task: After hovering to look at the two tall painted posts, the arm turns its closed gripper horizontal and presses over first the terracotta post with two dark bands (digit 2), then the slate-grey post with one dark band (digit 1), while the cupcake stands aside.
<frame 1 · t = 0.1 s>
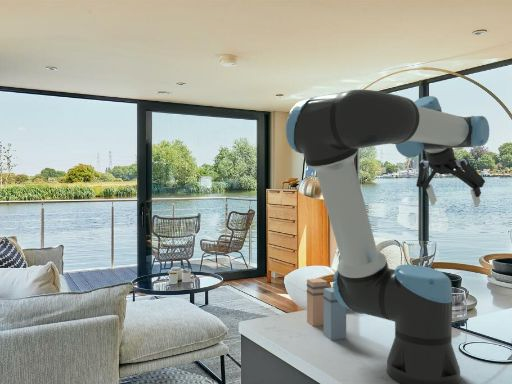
hand: (455, 203, 137), 36 cm above the table, tool tilted 35°, fingers open, 13 cm apart
post 2: (316, 323, 132), on the table
cupcake: (339, 307, 149), on the table
post 1: (334, 336, 120), on the table
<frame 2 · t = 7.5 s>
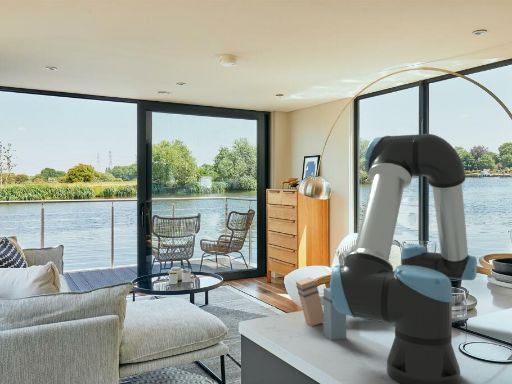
hand: (318, 300, 133), 7 cm above the table, tool horizontal, fingers closed
post 2: (315, 321, 132), on the table, tilted 15°, touching gripper
everything else where it was.
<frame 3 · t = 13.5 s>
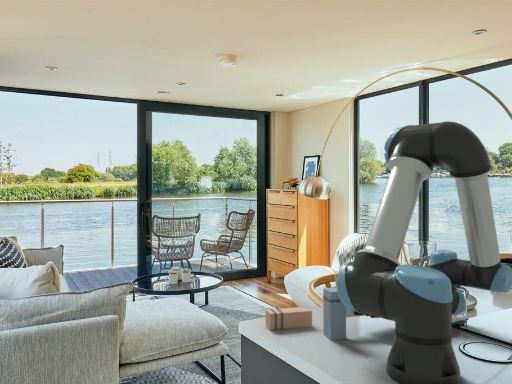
hand: (341, 312, 121), 6 cm above the table, tool horizontal, fingers closed
post 2: (309, 316, 131), point 2 cm above the table, tilted 89°
post 1: (334, 336, 120), on the table, touching gripper
everything else where it was.
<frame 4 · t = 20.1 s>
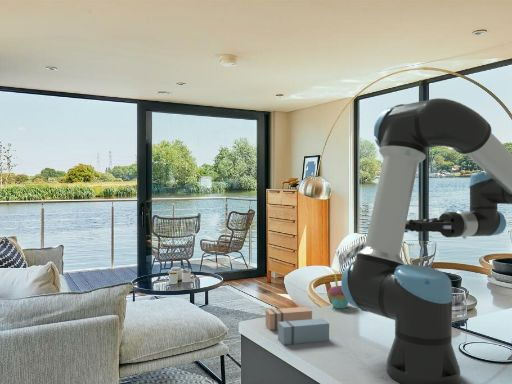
hand: (387, 226, 123), 30 cm above the table, tool horizontal, fingers closed
post 1: (325, 329, 120), point 2 cm above the table, tilted 89°
everything else where it was.
at the end: post 2 tilted 89°; post 1 tilted 89° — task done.
